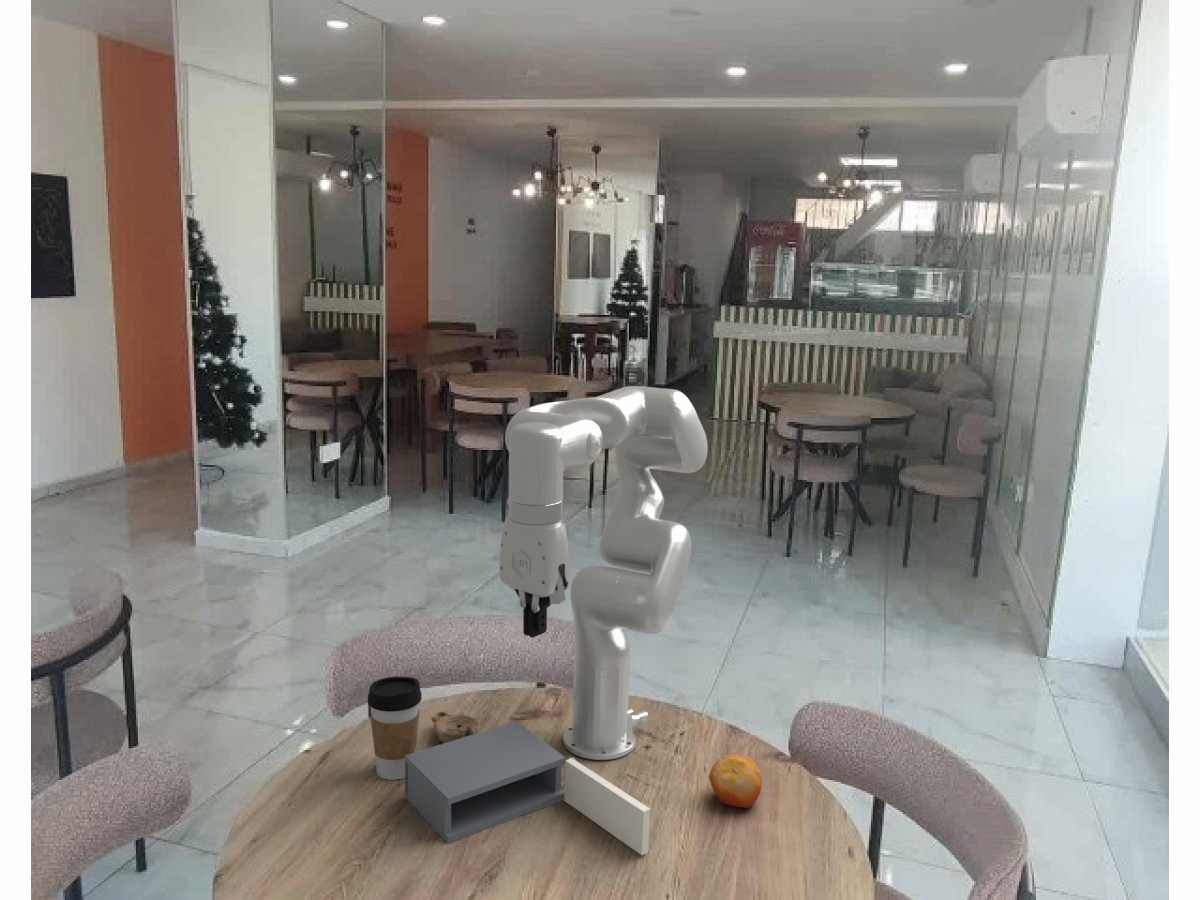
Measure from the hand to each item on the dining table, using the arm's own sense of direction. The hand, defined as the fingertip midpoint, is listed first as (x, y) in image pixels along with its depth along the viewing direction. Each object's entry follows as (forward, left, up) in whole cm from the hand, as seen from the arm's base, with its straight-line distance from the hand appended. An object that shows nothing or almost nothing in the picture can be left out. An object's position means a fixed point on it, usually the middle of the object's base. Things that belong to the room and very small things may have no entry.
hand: (535, 633), depth 130 cm
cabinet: (+4, -7, -29) cm, 30 cm away
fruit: (-28, +15, -29) cm, 43 cm away
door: (-8, +9, -28) cm, 31 cm away
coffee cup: (+12, -22, -29) cm, 38 cm away
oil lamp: (-1, -25, -29) cm, 39 cm away
